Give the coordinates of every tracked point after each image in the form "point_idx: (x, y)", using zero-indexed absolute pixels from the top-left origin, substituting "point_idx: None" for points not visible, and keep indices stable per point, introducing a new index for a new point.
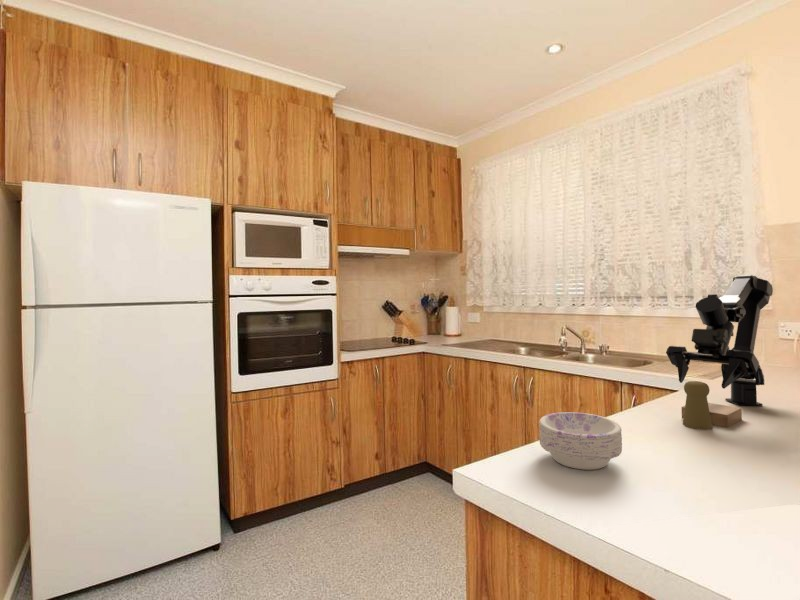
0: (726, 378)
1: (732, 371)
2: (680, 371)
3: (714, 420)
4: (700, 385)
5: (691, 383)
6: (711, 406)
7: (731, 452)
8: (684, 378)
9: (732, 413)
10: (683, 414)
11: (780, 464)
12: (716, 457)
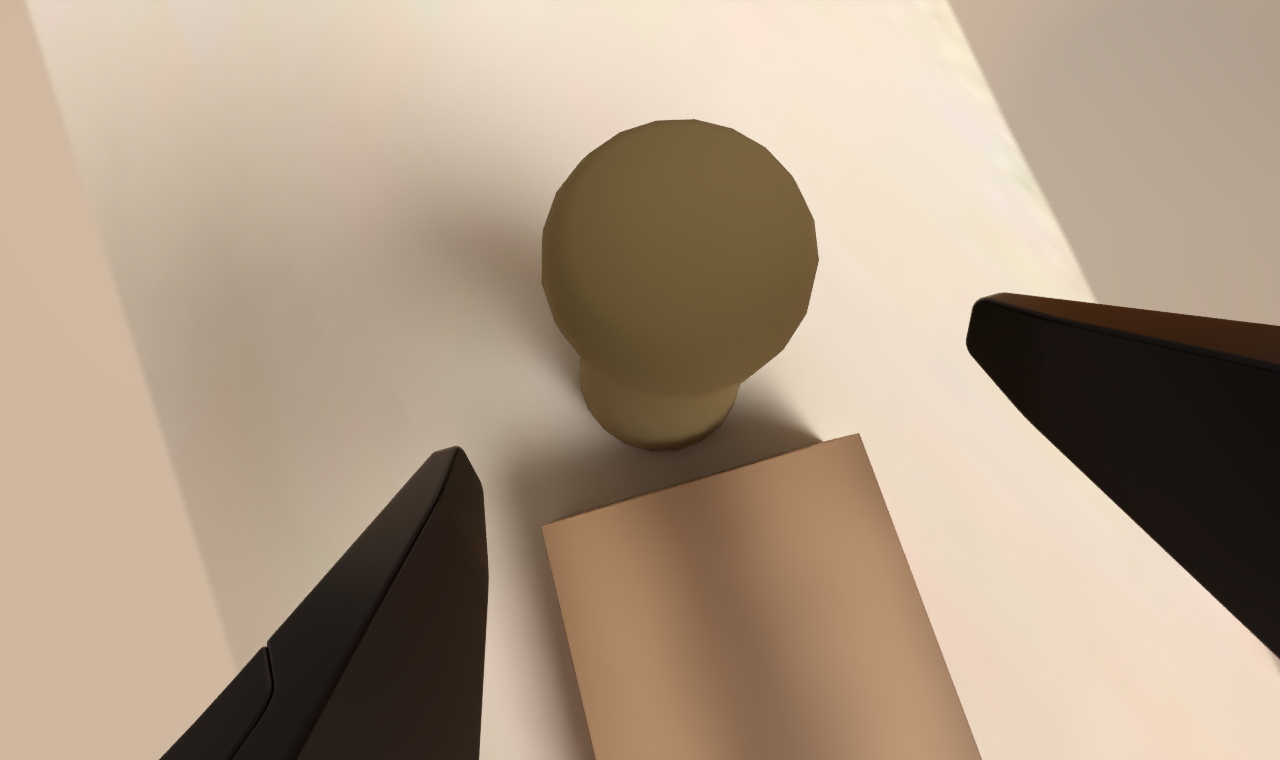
0: (367, 542)
1: (171, 753)
2: (1182, 332)
3: (631, 498)
4: (576, 169)
5: (679, 131)
6: (781, 695)
7: (311, 121)
8: (1057, 447)
9: (569, 642)
10: (823, 442)
11: (125, 161)
12: (314, 15)
